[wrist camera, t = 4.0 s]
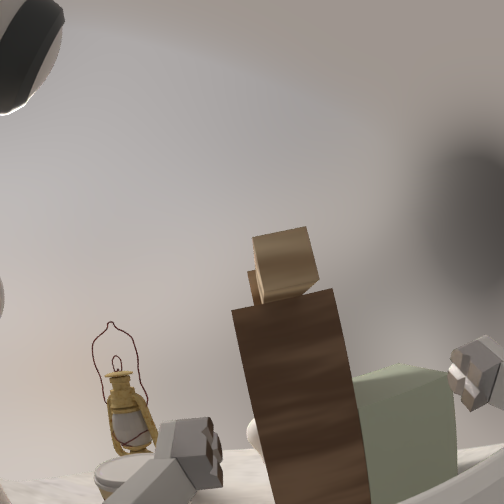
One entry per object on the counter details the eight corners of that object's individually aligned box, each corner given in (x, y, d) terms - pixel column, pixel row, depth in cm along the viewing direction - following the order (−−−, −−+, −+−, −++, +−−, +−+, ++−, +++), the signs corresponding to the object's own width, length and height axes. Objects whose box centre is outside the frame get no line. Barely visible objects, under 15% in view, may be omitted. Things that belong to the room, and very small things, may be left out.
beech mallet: (332, 276, 17) (314, 207, 18) (250, 294, 17) (235, 222, 18) (296, 304, 35) (288, 269, 36) (256, 312, 35) (248, 277, 36)
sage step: (456, 508, 19) (450, 373, 23) (375, 544, 19) (357, 408, 22) (412, 471, 30) (398, 363, 34) (347, 495, 30) (328, 384, 34)
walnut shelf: (374, 544, 19) (332, 288, 25) (292, 565, 18) (231, 310, 25) (347, 495, 30) (310, 301, 36) (284, 510, 30) (241, 316, 36)
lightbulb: (303, 472, 41) (290, 411, 43) (270, 487, 37) (255, 424, 40) (281, 463, 46) (268, 407, 48) (250, 476, 42) (235, 418, 45)
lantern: (106, 482, 42) (68, 325, 49) (136, 465, 51) (103, 325, 59) (157, 491, 39) (114, 315, 46) (185, 469, 48) (149, 316, 56)
